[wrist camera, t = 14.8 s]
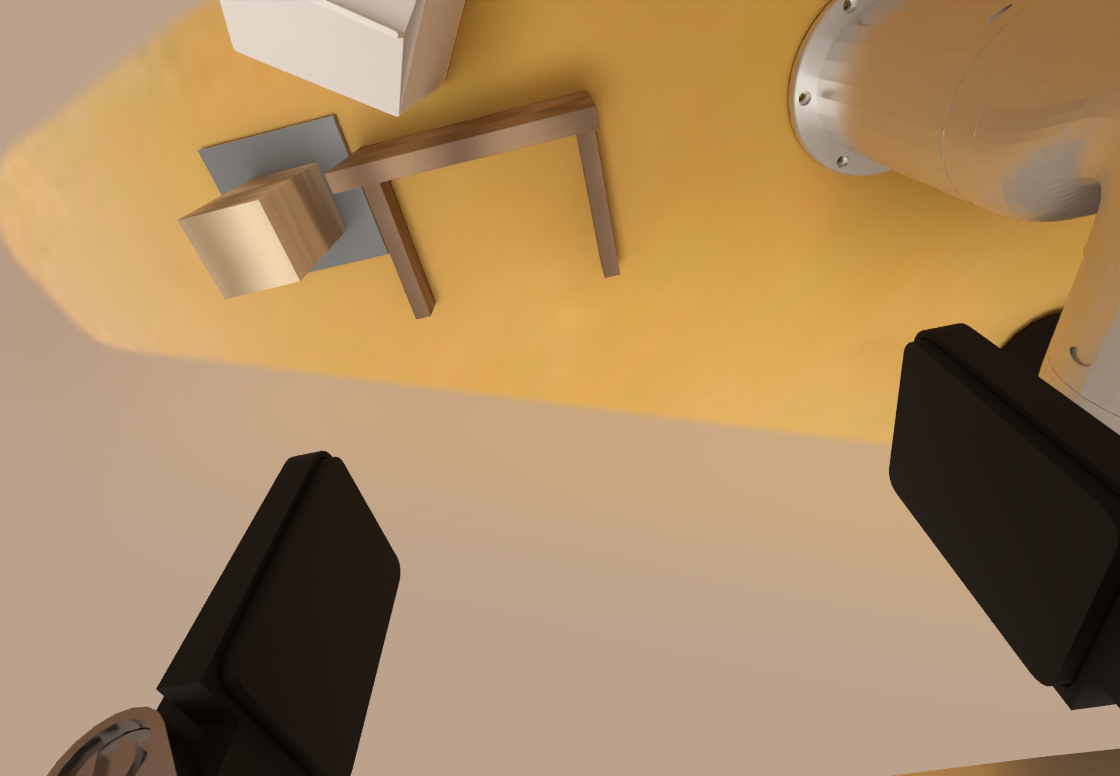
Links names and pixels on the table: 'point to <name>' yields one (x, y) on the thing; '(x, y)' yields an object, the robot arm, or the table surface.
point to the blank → (266, 230)
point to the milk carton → (352, 44)
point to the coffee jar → (1033, 343)
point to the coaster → (293, 150)
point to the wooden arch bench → (465, 144)
